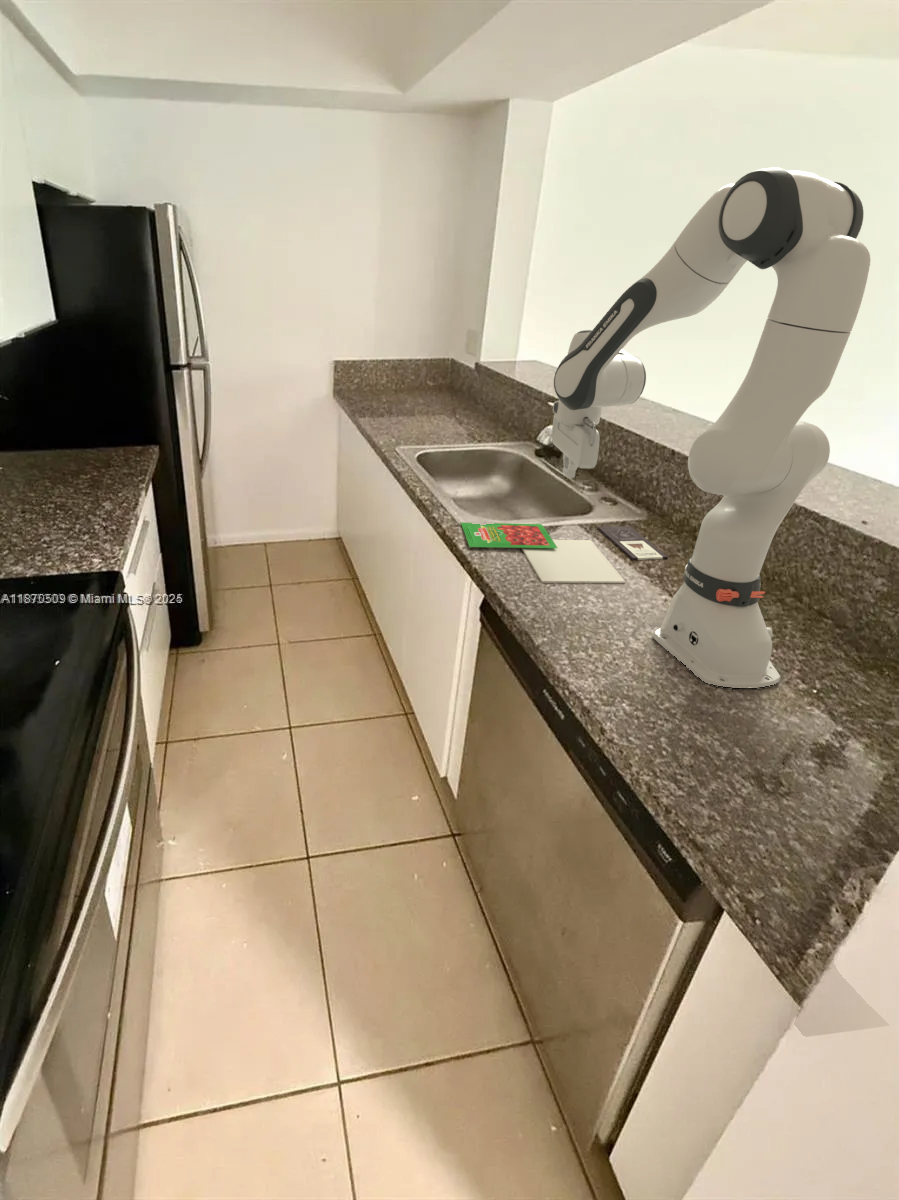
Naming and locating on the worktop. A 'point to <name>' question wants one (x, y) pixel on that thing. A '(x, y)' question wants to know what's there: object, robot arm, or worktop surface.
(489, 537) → the tomato puree packet
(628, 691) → the worktop surface
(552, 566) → the rubber mat
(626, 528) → the chocolate bar
